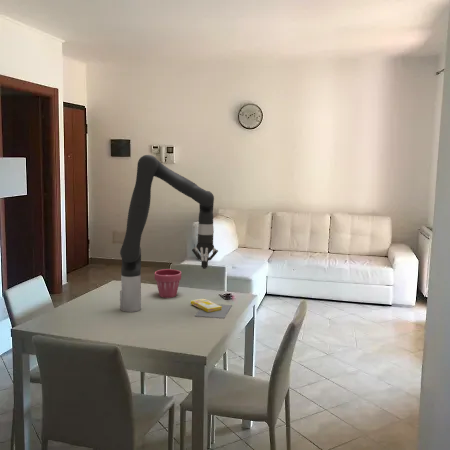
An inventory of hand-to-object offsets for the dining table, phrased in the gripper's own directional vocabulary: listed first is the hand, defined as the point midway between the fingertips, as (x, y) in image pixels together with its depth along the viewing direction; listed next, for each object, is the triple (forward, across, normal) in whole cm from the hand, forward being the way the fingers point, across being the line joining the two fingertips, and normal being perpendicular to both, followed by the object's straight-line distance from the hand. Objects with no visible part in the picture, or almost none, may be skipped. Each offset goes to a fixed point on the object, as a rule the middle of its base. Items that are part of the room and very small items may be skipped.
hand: (204, 268), depth 244 cm
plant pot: (+21, -24, +19) cm, 37 cm away
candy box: (+19, -2, 0) cm, 19 cm away
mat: (+20, +6, -1) cm, 21 cm away
